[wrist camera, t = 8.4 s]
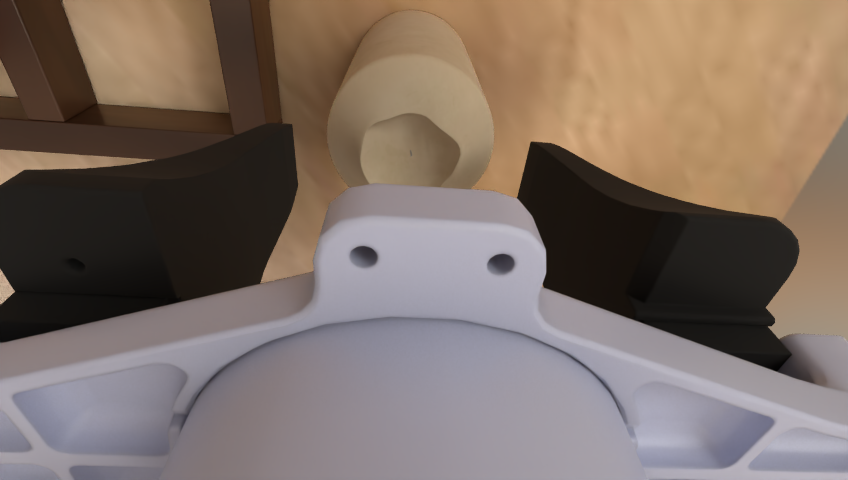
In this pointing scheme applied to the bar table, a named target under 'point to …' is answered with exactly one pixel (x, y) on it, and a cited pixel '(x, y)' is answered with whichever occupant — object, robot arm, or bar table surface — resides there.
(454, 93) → the candle
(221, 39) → the holder
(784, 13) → the bar table surface
